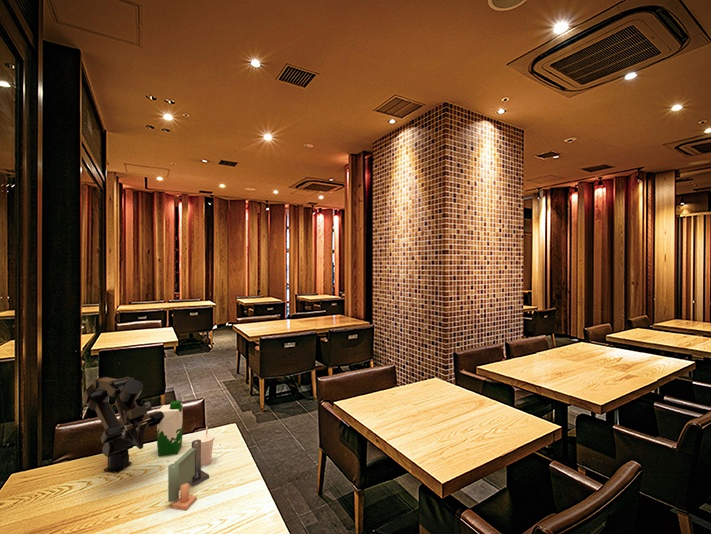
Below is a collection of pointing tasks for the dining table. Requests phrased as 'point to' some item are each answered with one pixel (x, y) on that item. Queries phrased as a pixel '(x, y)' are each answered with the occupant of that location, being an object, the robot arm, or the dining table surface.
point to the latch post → (184, 498)
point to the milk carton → (170, 429)
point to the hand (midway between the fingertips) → (141, 448)
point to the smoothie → (206, 447)
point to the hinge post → (198, 466)
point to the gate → (180, 473)
